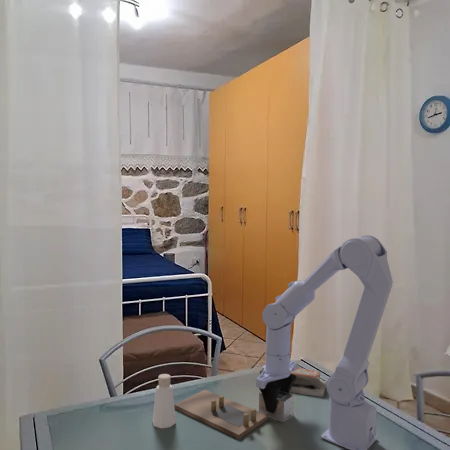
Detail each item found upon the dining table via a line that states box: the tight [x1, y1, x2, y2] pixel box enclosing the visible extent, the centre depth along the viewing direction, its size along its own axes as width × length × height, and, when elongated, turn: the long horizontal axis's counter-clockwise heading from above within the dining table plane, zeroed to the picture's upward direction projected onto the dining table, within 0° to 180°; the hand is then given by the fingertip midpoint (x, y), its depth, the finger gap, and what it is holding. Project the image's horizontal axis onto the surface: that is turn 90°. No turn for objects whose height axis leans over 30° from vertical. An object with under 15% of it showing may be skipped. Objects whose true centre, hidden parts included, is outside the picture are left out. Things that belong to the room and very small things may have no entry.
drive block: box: [258, 390, 295, 424], centre depth 105 cm, size 7×4×5 cm, turn 50°
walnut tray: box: [174, 389, 269, 440], centre depth 104 cm, size 20×11×4 cm, turn 50°
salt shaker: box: [152, 373, 177, 429], centre depth 100 cm, size 5×5×11 cm
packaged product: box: [259, 363, 327, 398], centre depth 121 cm, size 18×5×10 cm
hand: (276, 407), depth 105 cm, fingers closed on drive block, 4 cm apart
